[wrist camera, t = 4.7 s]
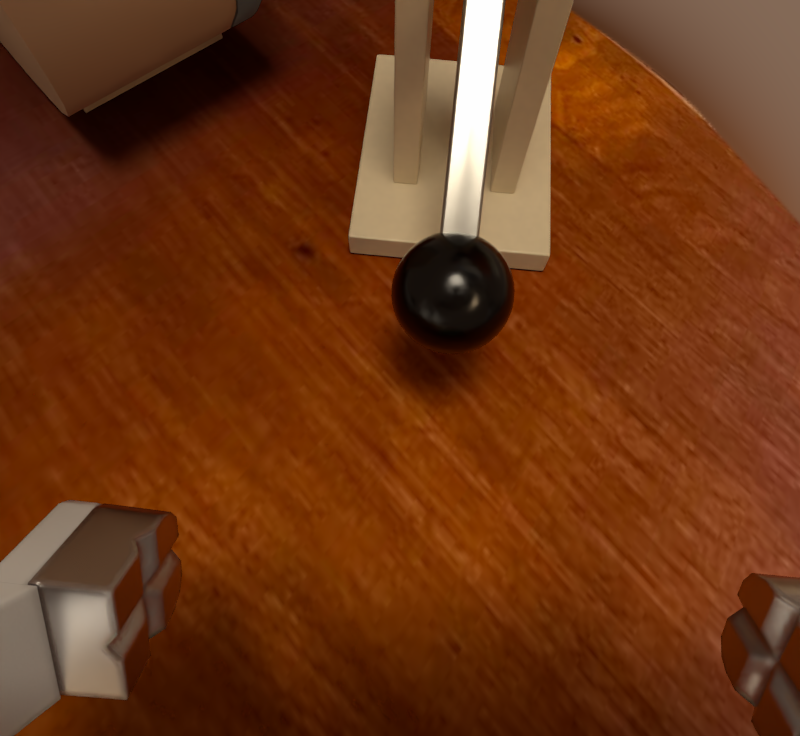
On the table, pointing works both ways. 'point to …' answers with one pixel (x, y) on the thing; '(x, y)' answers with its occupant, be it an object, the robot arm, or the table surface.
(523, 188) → the bracket
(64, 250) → the table surface
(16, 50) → the alarm clock
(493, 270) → the lever
